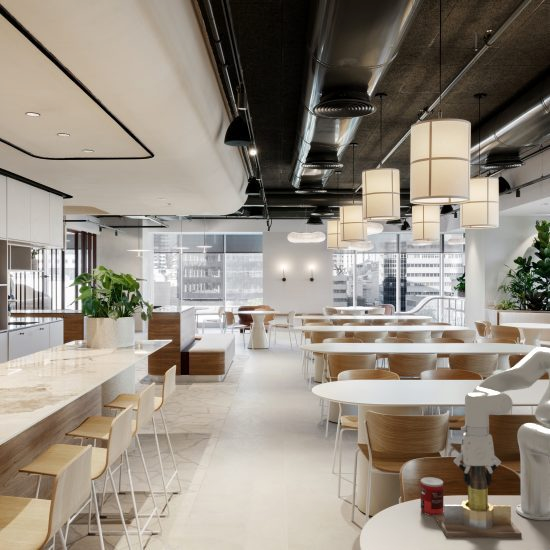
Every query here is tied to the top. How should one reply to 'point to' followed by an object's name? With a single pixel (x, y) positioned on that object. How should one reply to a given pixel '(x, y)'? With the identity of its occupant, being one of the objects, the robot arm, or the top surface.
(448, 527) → the walnut board
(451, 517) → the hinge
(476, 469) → the sauce bottle
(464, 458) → the robot arm
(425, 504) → the canned food
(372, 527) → the top surface
